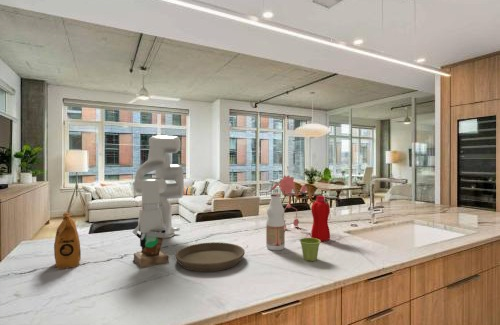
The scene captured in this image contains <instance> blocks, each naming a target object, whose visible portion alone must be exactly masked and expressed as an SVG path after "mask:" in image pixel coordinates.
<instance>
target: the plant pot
mask: <svg viewBox="0 0 500 325" xmlns="http://www.w3.org/2000/svg"><path fill="white" fill-rule="evenodd" d="M299 242H300V246H301V251H302V258H303V261H306V262H308V261H310V262H315V261H317V259H318V255H319V249H320V248H319V246H320V245H321V244H320V243H321V241H320V240H319V239H316V238H311V237H302V238H300V239H299Z"/></svg>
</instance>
